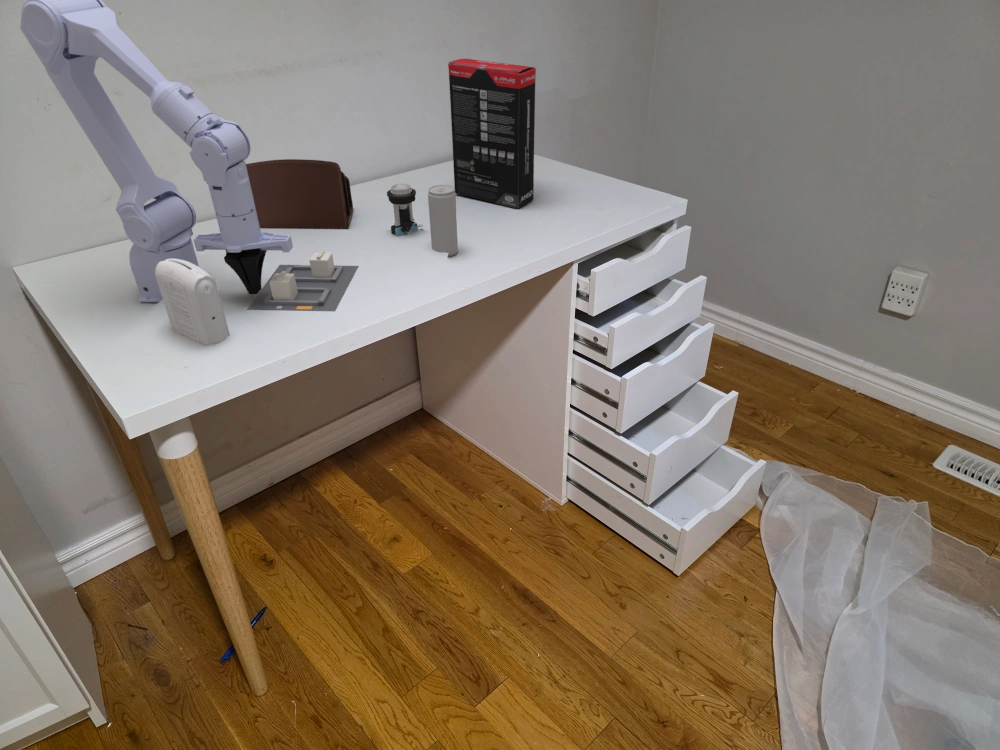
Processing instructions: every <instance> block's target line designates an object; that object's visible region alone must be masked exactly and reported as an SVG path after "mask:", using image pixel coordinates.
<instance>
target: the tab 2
mask: <svg viewBox="0 0 1000 750" xmlns="http://www.w3.org/2000/svg"><path fill="white" fill-rule="evenodd" d="M308 261H309V265H310V266H311V272H312V277H313V278H332V276H333V275H334V273H335V268H334V266H335V264H334V257H333V252H325V250H324V249H323V250H320V251H318V252H314V253H313V254H312V256H311V257H310V259H309V260H308Z"/></svg>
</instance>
